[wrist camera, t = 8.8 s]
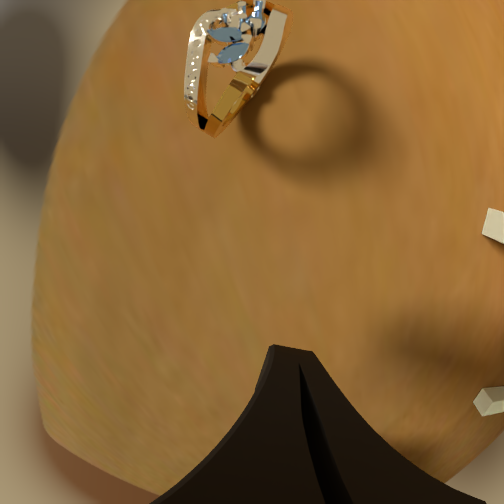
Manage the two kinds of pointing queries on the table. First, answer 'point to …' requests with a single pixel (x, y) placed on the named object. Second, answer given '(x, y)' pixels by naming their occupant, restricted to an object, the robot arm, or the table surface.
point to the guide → (500, 398)
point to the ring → (233, 58)
